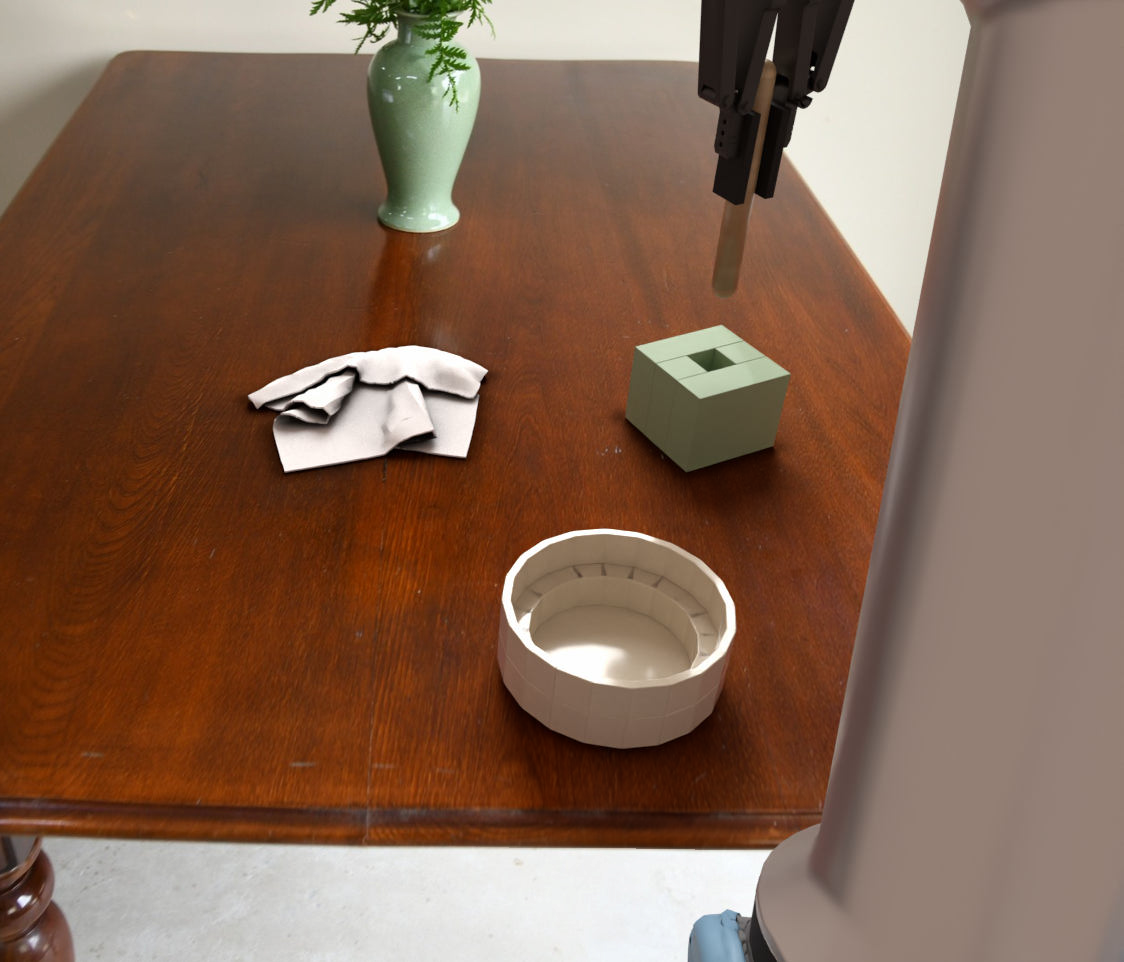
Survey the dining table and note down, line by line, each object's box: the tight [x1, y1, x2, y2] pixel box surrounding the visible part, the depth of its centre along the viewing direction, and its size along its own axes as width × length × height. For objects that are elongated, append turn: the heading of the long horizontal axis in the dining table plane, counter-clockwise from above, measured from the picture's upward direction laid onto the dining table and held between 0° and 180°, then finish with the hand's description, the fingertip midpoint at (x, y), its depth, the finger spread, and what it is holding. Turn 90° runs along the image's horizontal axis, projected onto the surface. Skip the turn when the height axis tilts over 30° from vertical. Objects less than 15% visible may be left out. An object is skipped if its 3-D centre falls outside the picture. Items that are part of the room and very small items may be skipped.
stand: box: [624, 324, 792, 473], centre depth 93 cm, size 9×9×7 cm
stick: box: [710, 58, 776, 299], centre depth 82 cm, size 2×2×18 cm
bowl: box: [496, 528, 738, 750], centre depth 71 cm, size 14×14×6 cm
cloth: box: [247, 345, 489, 474], centre depth 97 cm, size 20×22×2 cm
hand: (742, 194), depth 83 cm, fingers closed on stick, 2 cm apart
